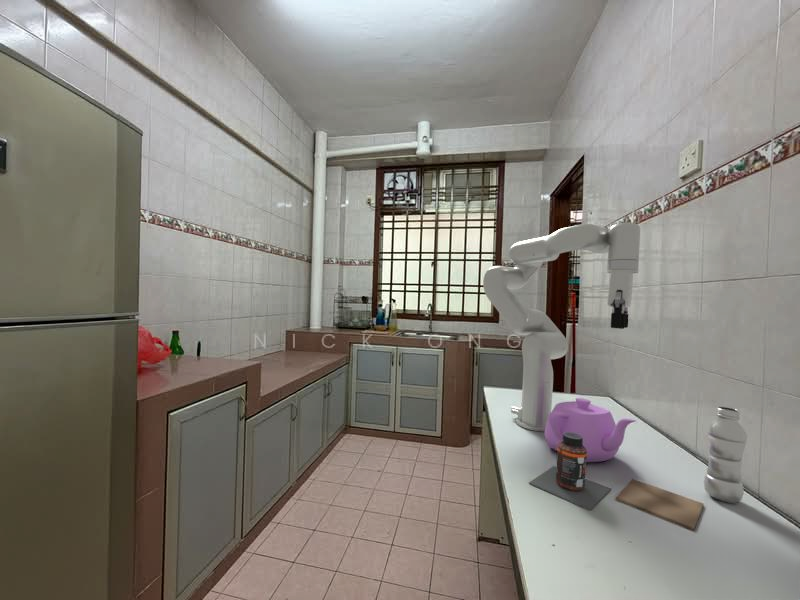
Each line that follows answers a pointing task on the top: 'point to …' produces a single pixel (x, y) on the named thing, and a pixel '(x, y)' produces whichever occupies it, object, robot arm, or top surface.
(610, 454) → the teapot
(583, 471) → the supplement bottle
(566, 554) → the top surface
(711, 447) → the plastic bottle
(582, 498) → the dot mat
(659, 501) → the walnut board
